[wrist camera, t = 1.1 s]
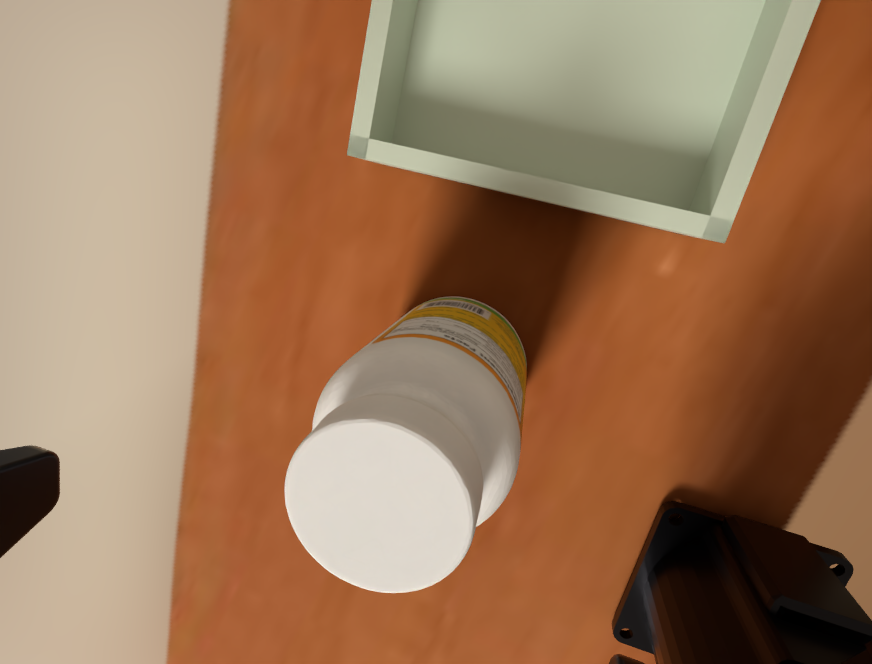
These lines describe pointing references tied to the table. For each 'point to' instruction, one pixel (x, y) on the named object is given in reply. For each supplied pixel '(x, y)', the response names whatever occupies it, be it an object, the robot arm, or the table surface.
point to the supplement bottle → (411, 447)
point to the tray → (582, 100)
